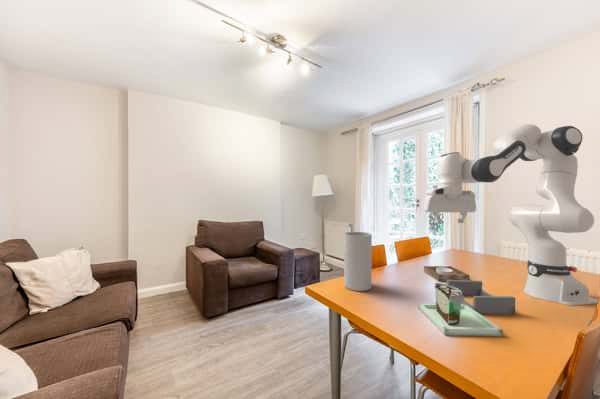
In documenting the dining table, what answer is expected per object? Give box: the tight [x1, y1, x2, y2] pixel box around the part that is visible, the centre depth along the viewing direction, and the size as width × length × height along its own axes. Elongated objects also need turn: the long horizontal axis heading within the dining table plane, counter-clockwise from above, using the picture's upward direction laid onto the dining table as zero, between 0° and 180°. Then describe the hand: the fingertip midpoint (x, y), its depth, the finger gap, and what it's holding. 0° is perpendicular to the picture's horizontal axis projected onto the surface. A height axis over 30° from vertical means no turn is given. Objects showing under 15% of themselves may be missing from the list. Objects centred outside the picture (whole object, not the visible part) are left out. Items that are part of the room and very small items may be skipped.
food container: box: [434, 282, 465, 325], centre depth 80 cm, size 12×6×10 cm, turn 171°
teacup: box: [436, 267, 453, 274], centre depth 123 cm, size 10×10×5 cm
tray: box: [417, 302, 504, 337], centre depth 80 cm, size 17×17×2 cm
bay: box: [446, 280, 516, 315], centre depth 93 cm, size 14×17×6 cm
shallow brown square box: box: [423, 265, 471, 283], centre depth 124 cm, size 15×15×4 cm
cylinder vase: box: [343, 231, 373, 292], centre depth 111 cm, size 12×12×25 cm
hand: (449, 223), depth 100 cm, fingers open, 8 cm apart
